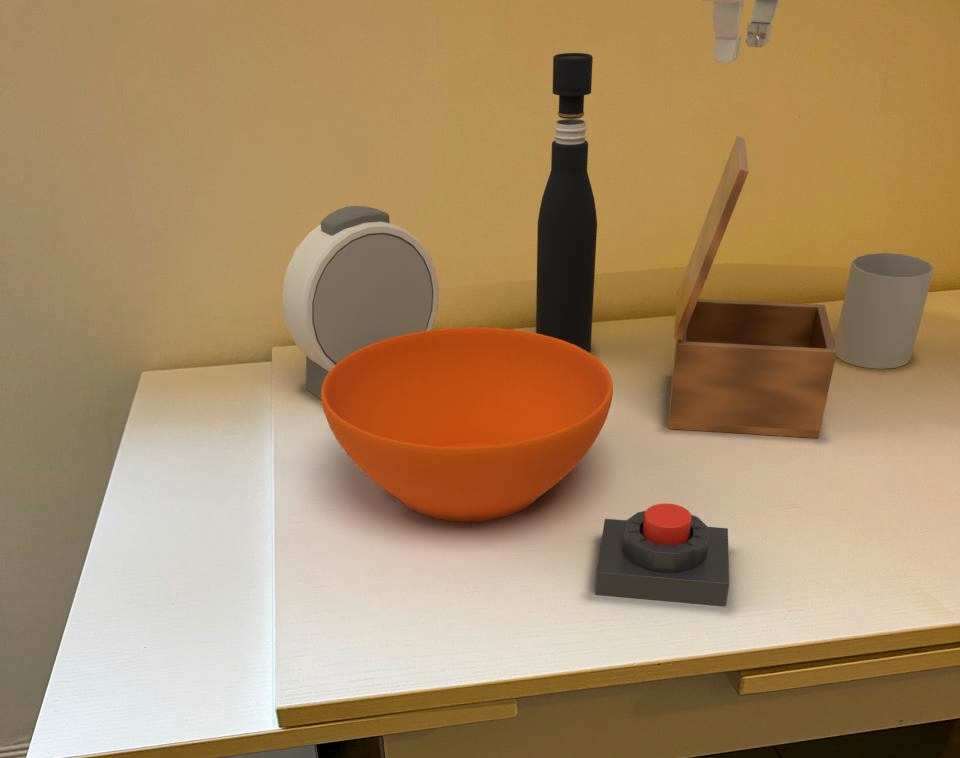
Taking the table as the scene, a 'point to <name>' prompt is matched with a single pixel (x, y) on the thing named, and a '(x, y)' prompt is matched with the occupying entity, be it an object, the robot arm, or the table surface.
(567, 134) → the wine bottle
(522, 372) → the bowl
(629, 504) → the table surface
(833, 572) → the table surface
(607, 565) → the button block
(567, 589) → the table surface
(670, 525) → the button
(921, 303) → the cup
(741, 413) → the oak box
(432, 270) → the alarm clock
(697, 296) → the box lid
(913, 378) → the table surface
